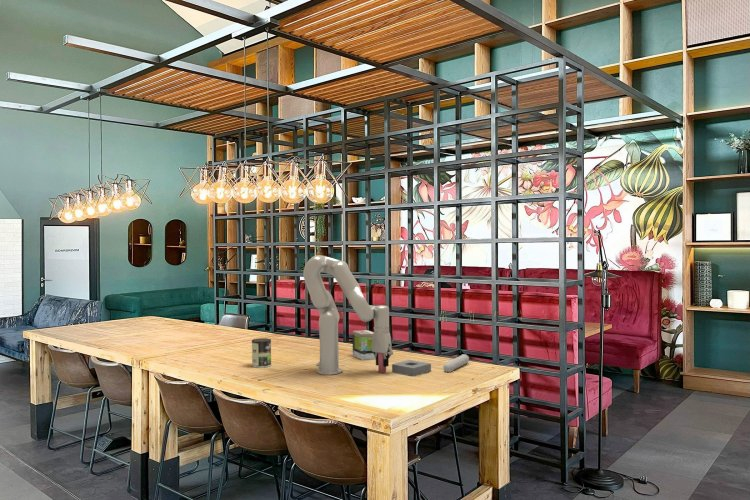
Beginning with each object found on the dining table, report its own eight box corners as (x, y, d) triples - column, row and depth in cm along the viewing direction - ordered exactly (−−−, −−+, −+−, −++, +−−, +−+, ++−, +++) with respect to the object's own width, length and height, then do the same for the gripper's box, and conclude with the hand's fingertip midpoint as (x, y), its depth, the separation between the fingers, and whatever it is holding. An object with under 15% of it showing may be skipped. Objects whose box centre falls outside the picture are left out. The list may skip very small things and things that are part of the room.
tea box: (377, 359, 326) (377, 332, 326) (361, 360, 322) (360, 334, 322) (368, 354, 340) (367, 329, 339) (352, 355, 336) (351, 330, 336)
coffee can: (274, 364, 316) (273, 338, 315) (267, 368, 305) (266, 341, 305) (256, 363, 318) (256, 337, 317) (248, 367, 307) (248, 341, 307)
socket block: (392, 372, 292) (392, 364, 292) (409, 367, 303) (409, 359, 303) (413, 376, 283) (413, 368, 283) (430, 371, 293) (430, 363, 293)
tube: (452, 366, 288) (470, 356, 310) (442, 361, 291) (461, 352, 312) (449, 375, 289) (467, 365, 311) (439, 371, 292) (458, 361, 313)
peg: (376, 372, 293) (376, 348, 293) (382, 370, 296) (381, 347, 296) (382, 373, 290) (382, 349, 290) (387, 371, 293) (387, 348, 293)
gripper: (364, 329, 296) (365, 364, 296) (389, 332, 284) (389, 369, 284) (374, 327, 301) (375, 362, 301) (399, 330, 290) (399, 366, 290)
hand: (382, 365), depth 293 cm, fingers open, 4 cm apart
